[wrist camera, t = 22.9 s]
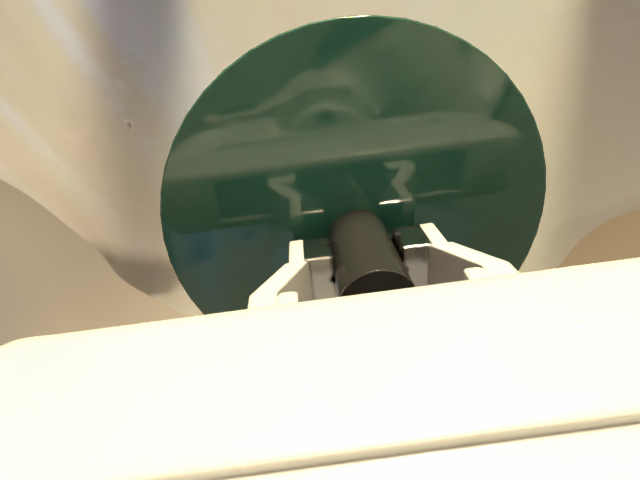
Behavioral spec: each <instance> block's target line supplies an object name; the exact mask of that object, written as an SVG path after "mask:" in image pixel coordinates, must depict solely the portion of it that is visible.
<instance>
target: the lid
mask: <svg viewBox="0 0 640 480" xmlns="http://www.w3.org/2000/svg"><path fill="white" fill-rule="evenodd" d="M545 191H546V165H545V158H544V152H543V145H542V141H541V137H540V134H539V131H538V128H537V125H536V122H535V119H534V117H533V115H532V113H531V111H530V109H529V107H528V105H527V103H526V101H525V99H524V97H523V95H522V94H521V93H520V91H519V90H518V88H517V87H516V86H515V84H514V83H513V82H512V80H511V79H510V78H509V76H508V75H507V74H506V73H505V72H504V71H503V70H502V69H501V68H500V67H499V66H498V65H497V64H496V63H495V62H494V61H493V60H492V59H491V58H489V57H488V56H487V55H486V54H485V53H483V52H482V51H480V50H479V49H477V48H476V47H474V46H473V45H471V44H470V43H468V42H467V41H465V40H464V39H462V38H460V37H458V36H456V35H453V34H451V33H449V32H447V31H445V30H442V29H440V28H438V27H436V26H432V25H429V24H425V23H421V22H418V21H414V20H410V19H407V18H398V17H389V16H379V15H362V16H343V17H337V18H332V19H327V20H322V21H317V22H312V23H308V24H305V25H303V26H300V27H297V28H295V29H292V30H289V31H286V32H284V33H281V34H278V35H276V36H275V37H273V38H271V39H269V40H267V41H265V42H264V43H262V44H260V45H258V46H256V47H255V48H253V49H251V50H249V51H248V52H247V53H245V54H244V55H243V56H241V57H240V58H239V59H237V60H236V61H235V62H234V63H232V64H231V65H230V66H228V67H227V68H226V69H224V70H223V71H222V72H221V73H220V74H219V75H218V77H217V78H216V79H215V80H214V81H213V82H212V83H211V84H210V85H209V86H208V87H207V88H206V89H205V90H204V91H203V92H202V94H201V95H200V96H199V98H198V99H197V101H196V102H195V103H194V105H193V106H192V108H191V109H190V110H189V112H188V113H187V115H186V116H185V118H184V120H183V122H182V124H181V126H180V128H179V130H178V132H177V134H176V136H175V138H174V140H173V142H172V146H171V149H170V152H169V155H168V158H167V161H166V164H165V168H164V174H163V180H162V186H161V202H160V217H161V224H162V231H163V238H164V242H165V245H166V249H167V252H168V256H169V259H170V262H171V264H172V266H173V268H174V271H175V273H176V275H177V277H178V279H179V281H180V283H181V284H182V286H183V288H184V289H185V291H186V292H187V294H188V295H189V297H190V298H191V300H192V301H193V302H194V303H195V304H196V306H197V307H198V308H199V309H200V310H201V312H202V313H203V314H204V315H206V314H213V313H221V312H229V311H236V310H244V309H247V308H248V302H249V296H250V295H251V294H252V293H254V292H255V291H256V290H257V289H258V288H259V287H260V286H261V285H262V284H263V283H265V282H266V281H267V280H268V279H269V278H270V277H271V276H272V275H273V274H275V273H276V272H277V271H278V270H279V269H280V268H281V267H282V266H283V265H285V264H287V263H289V242H290V241H296V240H305V239H314V238H323V237H329V240H330V247H331V250H332V256H333V264H334V275H333V276H334V281H335V287H336V293H337V297H342V296H350V295H358V294H365V293H373V292H381V291H388V290H396V289H403V288H411V287H415V285H414V283H413V281H412V279H411V277H410V275H409V273H408V271H407V269H406V267H405V265H404V263H403V261H402V259H401V257H400V255H399V253H398V251H397V248H396V246H395V244H394V242H393V240H392V238H391V233H392V229H393V228H399V227H406V226H412V225H420V224H426V223H433V224H434V225H435V226H436V228H437V229H438V230H439V232H440V233H441V234H442V235H443V237H444V238H445V239H446V240H447V242H454V243H457V244H459V245H462V246H465V247H468V248H471V249H474V250H476V251H479V252H482V253H485V254H488V255H490V256H493V257H496V258H499V259H502V260H505V261H507V262H510V263H511V264H512V265H513V267H514V268H515V269H516V270H517V271H518V270H519V269H520V267H521V265H522V263H523V262H524V260H525V258H526V256H527V255H528V253H529V250H530V248H531V245H532V243H533V241H534V238H535V236H536V234H537V230H538V226H539V223H540V219H541V216H542V212H543V205H544V198H545Z"/></svg>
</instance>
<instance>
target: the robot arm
mask: <svg viewBox="0 0 640 480" xmlns="http://www.w3.org/2000/svg"><path fill="white" fill-rule="evenodd" d="M391 238H392V240H393V242H394V244H395V246H396V248H397V251H398V253H399V255H400V257H401V259H402V261H403V263H404V265H405V267H406V269H407V271H408V273H409V275H410V277H411V279H412V281H413V283H414V285H415V287H411V288H403V289H396V290H388V291H381V292H373V293H365V294H358V295H350V296H342V297H337V293H336V287H335V281H334V276H333V275H334V264H333V256H332V250H331V247H330V240H329V237H323V238H314V239H305V240H296V241H290V242H289V263H287V264H285V265H283V266H282V267H281V268H280V269H279V270H278V271H277V272H276V273H275V274H273V275H272V276H271V277H270V278H269V279H268V280H267V281H266V282H265V283H263V284H262V285H261V286H260V287H259V288H258V289H257V290H256V291H255V292H254V293H252V294H251V295H250V296H249V302H248V308H247V309H244V310H236V311H229V312H221V313H213V314H206V315H198V316H191V317H183V318H176V319H168V320H161V321H153V322H146V323H138V324H130V325H123V326H115V327H108V328H100V329H92V330H85V331H77V332H70V333H62V334H54V335H45V336H36V337H29V338H21V339H17V340H14V341H11V342H9V343H6V344H4V345H2V346H0V480H640V257H638V258H630V259H623V260H615V261H607V262H600V263H592V264H585V265H578V266H570V267H562V268H555V269H547V270H540V271H532V272H524V273H519V272H518V271H517V270H516V269H515V268H514V267H513V265H512V264H511V263H510V262H507V261H505V260H502V259H499V258H496V257H493V256H490V255H488V254H485V253H482V252H479V251H476V250H474V249H471V248H468V247H465V246H462V245H459V244H457V243H454V242H447V240H446V239H445V238H444V237H443V235H442V234H441V233H440V232H439V230H438V229H437V228H436V226H435V225H434V224H433V223H426V224H420V225H412V226H406V227H399V228H393V229H392V233H391Z"/></svg>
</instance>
